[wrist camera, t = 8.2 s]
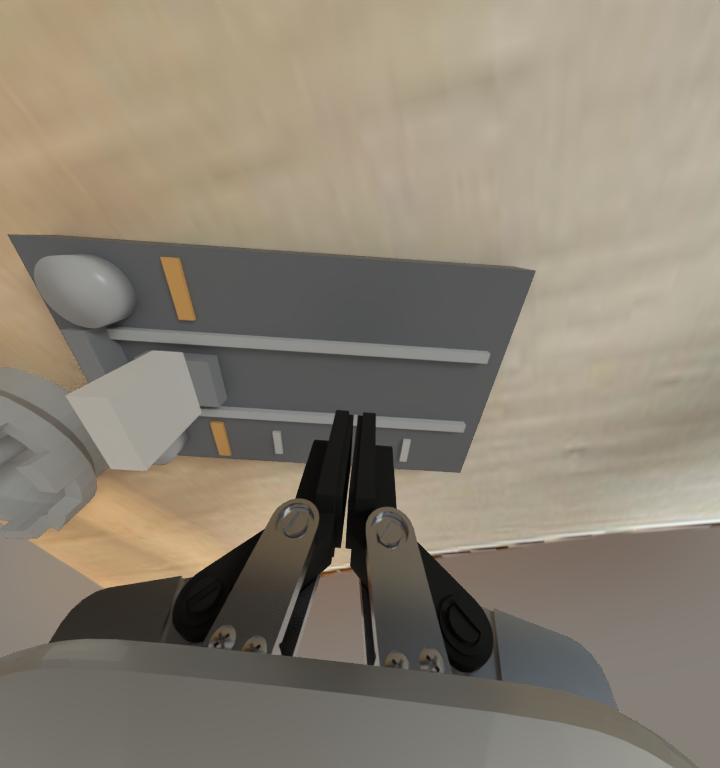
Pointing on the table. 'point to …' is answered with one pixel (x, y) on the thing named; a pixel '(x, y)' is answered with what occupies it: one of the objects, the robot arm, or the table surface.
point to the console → (292, 338)
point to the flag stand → (42, 456)
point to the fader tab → (147, 404)
